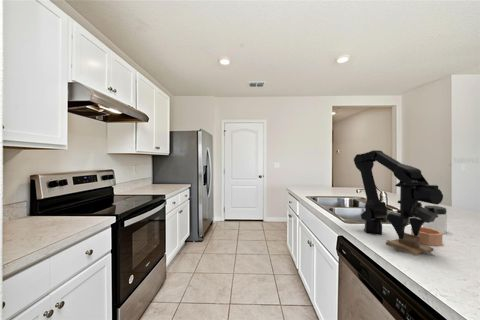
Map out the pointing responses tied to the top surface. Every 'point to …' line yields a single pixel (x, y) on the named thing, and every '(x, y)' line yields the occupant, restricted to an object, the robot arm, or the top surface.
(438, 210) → the jar
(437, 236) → the bowl
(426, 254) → the mat
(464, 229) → the top surface
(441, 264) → the top surface
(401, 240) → the ridged wooden block
